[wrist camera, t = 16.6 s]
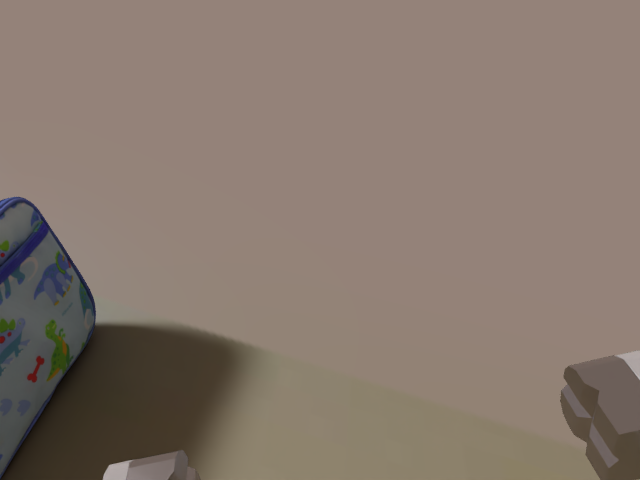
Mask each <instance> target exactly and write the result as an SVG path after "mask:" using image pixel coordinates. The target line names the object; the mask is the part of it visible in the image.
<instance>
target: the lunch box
mask: <svg viewBox="0 0 640 480" xmlns="http://www.w3.org/2000/svg"><path fill="white" fill-rule="evenodd" d="M95 317H96V310H95V303H94V299H93V296H92V294H91V291H90V289H89V287H88V286H87V284H86V282H85V280H84V279H83V277H82V275H81V274H80V272H79V270H78V269H77V267H76V266H75V265H74V263H73V261H72V260H71V258H70V256H69V255H68V253H67V252H66V250H65V249H64V247H63V245H62V244H61V242H60V241H59V240H58V238H57V237H56V235H55V234H54V232H53V231H52V229H51V228H50V226H49V225H48V223H47V222H46V220H45V219H44V217H43V216H42V214H41V213H40V211H39V210H38V209H37V207H35V206H34V204H32V203H31V202H30V201H28V200H26V199H24V198H21V197H12V198H7V199H4V200H1V201H0V479H1V477H2V475H3V474H4V472H5V470H6V468H7V467H8V465H9V463H10V461H11V460H12V458H13V456H14V455H15V453H16V452H17V450H18V449H19V447H20V445H21V444H22V442H23V441H24V439H25V438H26V436H27V435H28V433H29V432H30V430H31V429H32V427H33V426H34V424H35V422H36V421H37V419H38V418H39V416H40V415H41V413H42V411H43V410H44V408H45V406H46V404H47V403H48V402H49V401H50V399H51V397H52V395H53V393H54V391H55V388H56V386H57V385H58V383H59V382H60V381H61V379H62V378H63V376H64V375H65V374H66V372H67V371H68V370H69V368H70V367H71V366H72V364H73V363H74V362H75V360H76V359H77V357H78V356H79V355H80V353H81V352H82V351H83V349H84V348H85V346H86V345H87V343H88V341H89V340H90V337H91V335H92V333H93V330H94V326H95Z"/></svg>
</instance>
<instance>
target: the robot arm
mask: <svg viewBox="0 0 640 480" xmlns="http://www.w3.org/2000/svg"><path fill="white" fill-rule="evenodd" d="M564 379H565V380H566V382H567V385H566V386H565V387H564V388H563V389H562V390H561V400H560V402H561V406H562V410H563V414H564V417H565V419H566V421H567V423H568V425H569V427H570V429H571V431H572V432H573V434H574V435H575V436H577V437H579V438H580V439H582V440H583V441H585V442H587V447H586V454H585V455H586V456H587V458H588V460H589V461H590V463H591V465H592V466H593V468H594V470H595V471H596V473H597V475H598V476H599V478H600V480H637V479H640V351H633V352H629V353H624V354H621V355H616V356H614V355H613V356H609V357H604V358H600V359H596V360H591V361H587V362H583V363H579V364H574V365H570V366H568V367H567V368H566V369H565V372H564ZM103 480H201V479H200V476H199V474H198V473H197V471H196V469H194V468H191V467H189V466H188V457H187V455H186V454H185V453H184V451H183V450H179V451H174V452H169V453H164V454H160V455H155V456H150V457H145V458H140V459H134V460H129V461H125V462H120V463H116V464H111V465H109V467H108V468H107V470H106V472H105V474H104V476H103Z"/></svg>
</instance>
